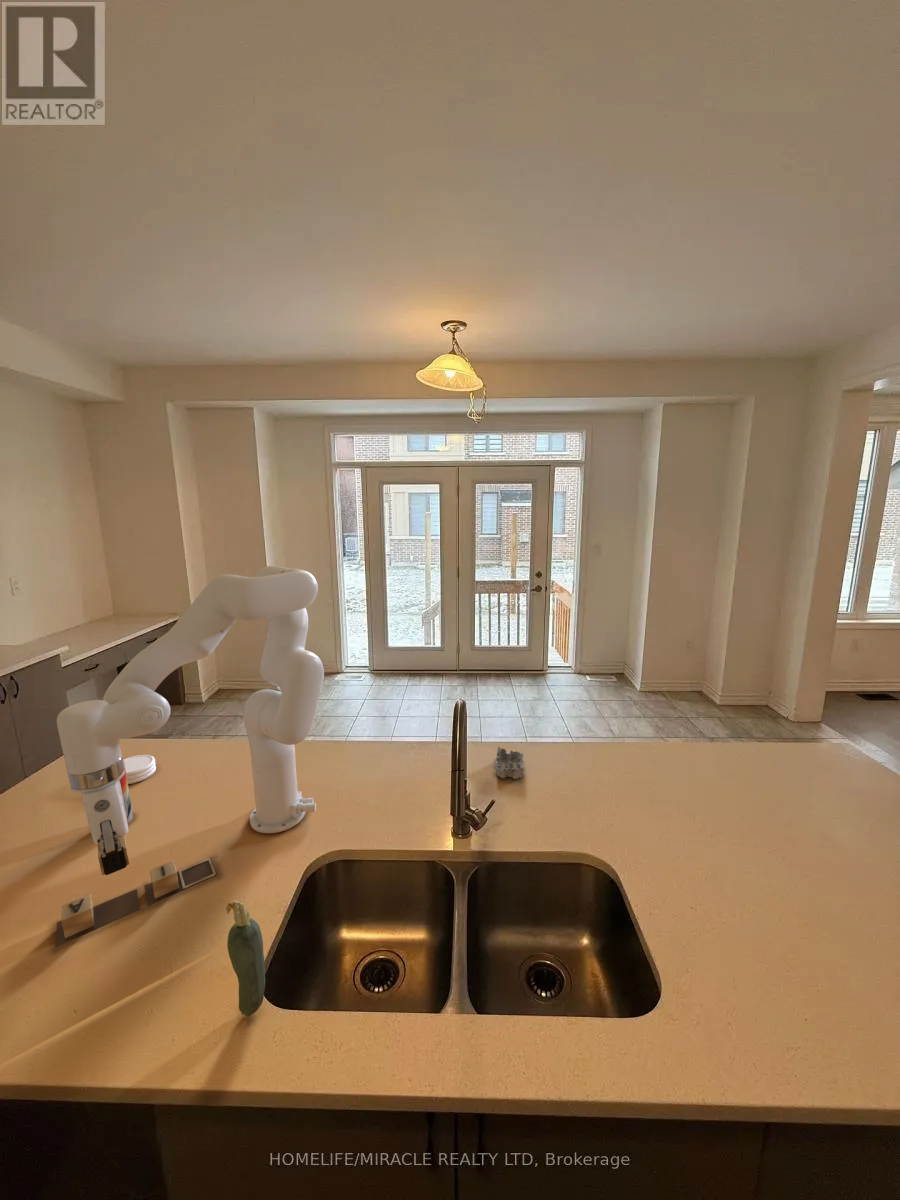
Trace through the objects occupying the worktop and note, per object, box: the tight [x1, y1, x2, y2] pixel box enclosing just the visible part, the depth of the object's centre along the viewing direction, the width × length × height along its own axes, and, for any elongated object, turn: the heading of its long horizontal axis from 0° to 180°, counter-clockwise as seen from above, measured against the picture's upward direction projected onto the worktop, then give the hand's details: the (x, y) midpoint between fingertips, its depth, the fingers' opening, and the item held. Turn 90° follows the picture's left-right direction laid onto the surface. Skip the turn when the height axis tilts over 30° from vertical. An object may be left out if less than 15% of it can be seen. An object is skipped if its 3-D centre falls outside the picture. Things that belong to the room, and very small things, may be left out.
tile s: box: [97, 835, 130, 876], centre depth 83 cm, size 4×4×4 cm
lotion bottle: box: [120, 758, 133, 824], centre depth 106 cm, size 6×6×20 cm
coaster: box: [123, 754, 157, 785], centre depth 127 cm, size 10×10×4 cm
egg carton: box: [495, 746, 524, 780], centre depth 130 cm, size 11×8×4 cm
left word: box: [55, 888, 141, 948], centre depth 83 cm, size 12×6×4 cm, turn 128°
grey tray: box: [144, 857, 219, 907], centre depth 91 cm, size 12×6×4 cm, turn 128°
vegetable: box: [225, 899, 266, 1020], centre depth 65 cm, size 4×4×20 cm
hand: (115, 861), depth 83 cm, fingers closed on tile s, 4 cm apart
